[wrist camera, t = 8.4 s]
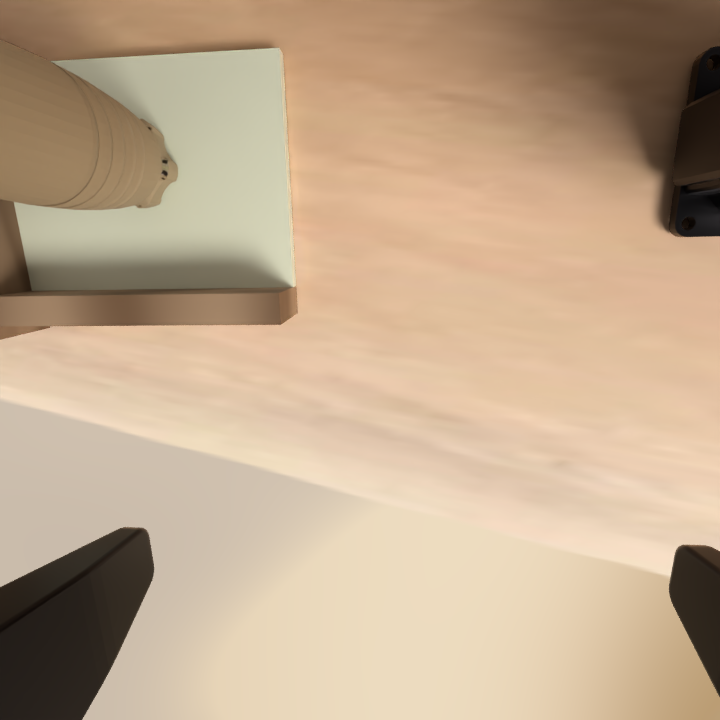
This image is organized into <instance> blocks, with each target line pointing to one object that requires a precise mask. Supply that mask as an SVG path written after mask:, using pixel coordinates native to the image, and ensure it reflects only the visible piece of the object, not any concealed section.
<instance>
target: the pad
mask: <svg viewBox="0 0 720 720" xmlns="http://www.w3.org/2000/svg"><path fill="white" fill-rule="evenodd" d="M50 62H52V63H55V64H56V65H58V66H60V67H62V68H64V69H66V70H67V71H70V72H72V73H74V74H75V75H77V76H79V77H81V78H82V79H84V80H86V81H88V82H89V83H91V84H92V85H94V86H95V87H97V88H98V89H100V90H102V91H103V92H105V93H106V94H108V95H109V96H111V97H112V98H114V99H115V100H117V101H118V102H119V103H121V104H122V105H123V106H125V107H126V108H127V109H129V110H130V111H131V112H132V113H133V114H134V115H135V116H137V117H138V118H139V119H144V120H145V121H147V122H148V123H150V124H151V125H153V126H154V127H155V128H156V129H157V130H159V131H160V132H161V133H162V134H163V136H164V144H165V148H166V150H167V153H168V154H169V156H170V158H171V159H172V160H173V162H175V163H176V164H177V166H178V177H177V180H176V181H175V182H172V183H171V184H170V185H169V186H168V187H167V188H166V189H165V191H164V193H163V195H162V198H161V203H160V204H159V205H157V206H154V207H150V208H137V207H136V206H130V207H125V208H120V209H108V210H71V209H61V208H52V207H43V206H36V205H28V204H23V203H17V202H14V206H15V211H16V215H17V220H18V225H19V230H20V235H21V240H22V245H23V250H24V254H25V259H26V264H27V269H28V274H29V279H30V284H31V288H32V291H54V290H128V289H202V288H276V287H295V286H296V275H295V257H294V240H293V222H292V204H291V186H290V168H289V151H288V133H287V115H286V97H285V79H284V62H283V53H282V52H281V50H280V48H266V49H249V50H232V51H215V52H198V53H181V54H164V55H146V56H129V57H112V58H95V59H78V60H61V61H50Z"/></svg>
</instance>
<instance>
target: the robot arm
mask: <svg viewBox="0 0 720 720" xmlns="http://www.w3.org/2000/svg"><path fill="white" fill-rule="evenodd" d="M708 59H711V60H712V61H713V62H714V68H713V71H712V70H709V69H708V68H707V61H708ZM672 180H673V182H674V183H675V187H674V194H673V200H672V207H671V214H670V221H669V230H670V232H671V233H672V234H673V235H674V236H677V237H703V236H720V46H717V47H713V48H710V49H709V50H707V51H705V52H704V53H702V54H701V55H699V56H698V57H697V59H696V60H695V61H694V64H693V67H692V73H691V79H690V86H689V93H688V100H687V106H686V108H685V109H684V110H683V111H682V114H681V121H680V127H679V134H678V141H677V148H676V155H675V161H674V168H673V175H672ZM685 218H687V219H688V220H689V225H688V227H687V228H686V229H685V230H684V229H683V228H682V221H683V220H684V219H685ZM153 573H154V563H153V557H152V551H151V545H150V539H149V534H148V532H147V530H146V529H144V528H133V527H123V528H120V529H118V530H116V531H114V532H112V533H109V534H108V535H105V536H103V537H101V538H99V539H97V540H95V541H93V542H91V543H89V544H87V545H85V546H83V547H81V548H79V549H77V550H75V551H73V552H71V553H69V554H67V555H65V556H63V557H61V558H59V559H57V560H55V561H53V562H51V563H48V564H46V565H44V566H43V567H41V568H38V569H36V570H34V571H32V572H30V573H28V574H26V575H24V576H22V577H20V578H18V579H16V580H14V581H12V582H10V583H8V584H6V585H4V586H2V587H0V720H82V719H83V717H84V715H85V714H86V712H87V710H88V709H89V707H90V705H91V703H92V701H93V700H94V698H95V696H96V695H97V693H98V691H99V689H100V688H101V686H102V684H103V682H104V680H105V678H106V677H107V675H108V673H109V671H110V669H111V667H112V665H113V663H114V661H115V659H116V657H117V655H118V653H119V651H120V649H121V647H122V644H123V642H124V640H125V638H126V636H127V633H128V631H129V629H130V627H131V625H132V623H133V620H134V618H135V616H136V614H137V612H138V610H139V608H140V605H141V603H142V601H143V599H144V597H145V595H146V592H147V590H148V588H149V586H150V584H151V581H152V578H153ZM669 593H670V598H671V601H672V604H673V606H674V608H675V610H676V612H677V614H678V616H679V618H680V620H681V622H682V624H683V626H684V628H685V630H686V632H687V634H688V636H689V638H690V640H691V642H692V644H693V645H694V648H695V650H696V651H697V653H698V656H699V658H700V660H701V661H702V663H703V665H704V667H705V669H706V671H707V673H708V675H709V677H710V679H711V681H712V683H713V685H714V687H715V689H716V691H717V693H718V695H719V697H720V551H718V550H716V549H714V548H712V547H710V546H705V545H681V546H679V547H678V548H677V550H676V552H675V557H674V562H673V567H672V573H671V578H670V584H669Z"/></svg>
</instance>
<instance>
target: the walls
mask: <svg viewBox="0 0 720 720" xmlns="http://www.w3.org/2000/svg"><path fill="white" fill-rule="evenodd" d="M297 313H298V311H297V293H296V286H295V287H276V288H202V289H128V290H54V291H32V288H31V284H30V279H29V274H28V269H27V264H26V259H25V254H24V250H23V245H22V240H21V235H20V230H19V225H18V220H17V215H16V211H15V206H14V202H12V201H7V200H2V199H0V339H5V338H9V337H13V336H17V335H21V334H25V333H30V332H34V331H38V330H42V329H46V328H50V326H137V325H281V324H282V323H284V322H285V321H287V320H288V319H290V318H291V317H292V316H294V315H295V314H297Z"/></svg>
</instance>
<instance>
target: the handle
mask: <svg viewBox="0 0 720 720" xmlns="http://www.w3.org/2000/svg"><path fill="white" fill-rule="evenodd" d="M177 177H178V166H177V164H176V163H175V162H173V160H172V159H171V158H170V156H169V154H168V153H167V150H166V148H165V144H164V136H163V134H162V133H161V132H160V131H159V130H157V129H156V128H155V127H154V126H153V125H151V124H150V123H148V122H147V121H145V120H144V119H139V118H138V117H137V116H135V115H134V114H133V113H132V112H131V111H130V110H129V109H127V108H126V107H125V106H123V105H122V104H121V103H119V102H118V101H117V100H115V99H114V98H112V97H111V96H109V95H108V94H106V93H105V92H103V91H102V90H100V89H98V88H97V87H95V86H94V85H92V84H91V83H89V82H88V81H86V80H84V79H82V78H81V77H79V76H77V75H75V74H74V73H72V72H70V71H67V70H66V69H64V68H62V67H60V66H58V65H56V64H55V63H52V62H50V61H48V60H47V59H45V58H42V57H40V56H38V55H36V54H33V53H31V52H29V51H26V50H24V49H22V48H20V47H17V46H15V45H13V44H10V43H8V42H6V41H3V40H1V39H0V199H2V200H7V201H12V202H17V203H23V204H28V205H36V206H43V207H52V208H61V209H71V210H108V209H120V208H125V207H130V206H136V207H137V208H150V207H154V206H157V205H159V204H160V203H161V198H162V195H163V193H164V191H165V189H166V188H167V187H168V186H169V185H170V184H171V183H172V182H175V181H176V180H177Z"/></svg>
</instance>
